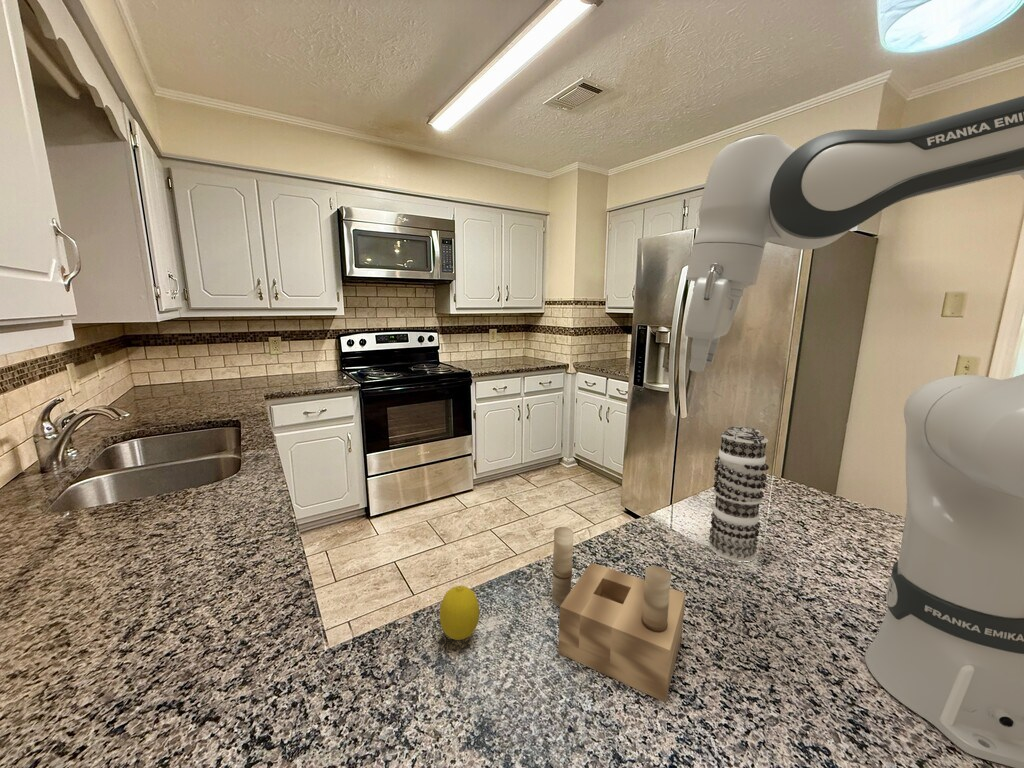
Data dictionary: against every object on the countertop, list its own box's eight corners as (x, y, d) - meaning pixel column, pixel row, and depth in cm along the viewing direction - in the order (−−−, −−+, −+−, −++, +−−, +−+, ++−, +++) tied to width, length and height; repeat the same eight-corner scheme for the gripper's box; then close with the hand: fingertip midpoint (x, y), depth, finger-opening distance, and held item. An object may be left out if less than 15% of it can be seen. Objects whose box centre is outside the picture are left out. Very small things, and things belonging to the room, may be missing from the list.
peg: (573, 598, 67) (576, 530, 65) (566, 609, 64) (569, 538, 62) (556, 592, 68) (558, 524, 67) (548, 602, 66) (550, 533, 64)
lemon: (472, 657, 55) (472, 602, 54) (433, 650, 56) (433, 596, 55) (483, 627, 60) (484, 577, 59) (448, 621, 61) (447, 572, 60)
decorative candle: (758, 546, 84) (771, 427, 80) (759, 569, 76) (774, 438, 72) (708, 534, 88) (719, 421, 84) (704, 555, 80) (716, 431, 76)
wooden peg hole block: (681, 637, 59) (689, 547, 57) (665, 702, 49) (674, 595, 47) (589, 602, 66) (593, 521, 64) (558, 652, 56) (561, 558, 54)
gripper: (744, 262, 46) (717, 381, 49) (750, 277, 63) (730, 365, 66) (685, 259, 49) (663, 371, 52) (706, 274, 66) (689, 358, 69)
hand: (701, 367), depth 59 cm, fingers open, 8 cm apart
